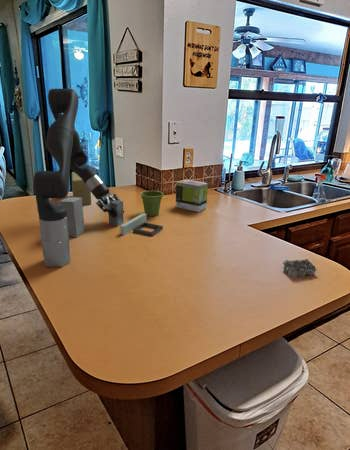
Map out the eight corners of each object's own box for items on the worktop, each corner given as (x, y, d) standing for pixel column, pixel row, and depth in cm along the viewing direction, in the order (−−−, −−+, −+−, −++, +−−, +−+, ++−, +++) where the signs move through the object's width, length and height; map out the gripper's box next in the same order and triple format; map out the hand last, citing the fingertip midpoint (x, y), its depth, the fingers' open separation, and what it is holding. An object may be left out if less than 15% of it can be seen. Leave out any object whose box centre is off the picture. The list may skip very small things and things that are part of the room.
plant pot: (159, 209, 184) (159, 189, 180) (165, 216, 173) (166, 195, 169) (138, 211, 180) (138, 190, 176) (143, 218, 170) (143, 197, 166)
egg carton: (289, 278, 118) (291, 268, 117) (280, 268, 125) (281, 258, 124) (317, 276, 120) (319, 266, 119) (306, 267, 127) (308, 257, 125)
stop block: (117, 226, 158) (117, 204, 154) (108, 224, 160) (108, 202, 156) (123, 223, 163) (123, 201, 159) (114, 221, 165) (114, 199, 161)
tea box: (206, 208, 190) (208, 182, 185) (198, 212, 182) (200, 186, 177) (184, 203, 197) (185, 178, 192) (174, 207, 189) (175, 181, 184)
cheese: (67, 196, 202) (65, 171, 197) (83, 194, 206) (81, 170, 201) (74, 206, 184) (72, 179, 178) (91, 205, 188) (90, 178, 182)
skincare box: (76, 237, 144) (74, 202, 138) (61, 236, 145) (58, 200, 140) (85, 230, 152) (83, 197, 146) (71, 229, 153) (68, 195, 147)
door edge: (124, 235, 149) (124, 226, 147) (120, 234, 149) (120, 225, 148) (146, 221, 166) (146, 213, 164) (142, 220, 167) (142, 213, 165)
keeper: (152, 236, 149) (152, 233, 148) (133, 232, 152) (133, 228, 152) (162, 229, 157) (162, 226, 157) (144, 225, 161) (144, 222, 160)
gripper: (92, 185, 151) (115, 215, 151) (110, 179, 164) (132, 206, 163) (83, 195, 155) (105, 224, 155) (102, 188, 167) (122, 215, 167)
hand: (119, 215), depth 159 cm, fingers open, 5 cm apart
